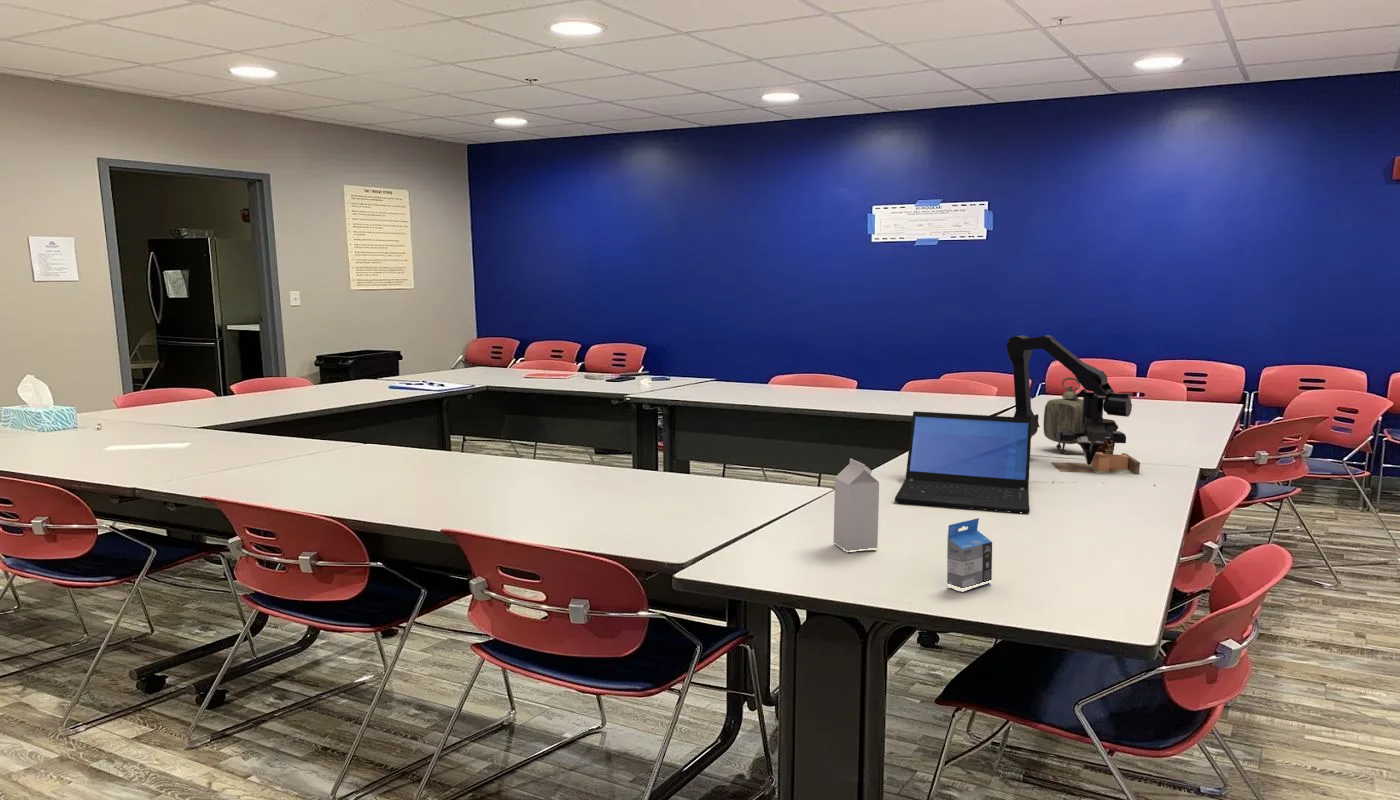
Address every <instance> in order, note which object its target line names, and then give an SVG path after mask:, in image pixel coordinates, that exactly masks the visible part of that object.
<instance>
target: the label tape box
mask: <svg viewBox="0 0 1400 800" xmlns="http://www.w3.org/2000/svg"><path fill="white" fill-rule="evenodd" d="M979 520H980V518H978V517H977V518H973V519H969V520H965V521H960V522H957V523H953V524H948V531H947V548H946V549H947V550H946V552H947V553H946V554H947V556H946V557H947V559H946V560H947V561H946V562H947V563H946V564H947V565H946V569H947V571H946V572H947V573H946V578H947V579H946V583H948V584H951V585H954V586H957V587H960V588H965V587H969V586H973V585H976V584H980V583H982V582H986V581H989V580H992V578H993V577H992V576H993V572H992V571H993V542H992V540H990V539H989V538H987V537H986V535H984V534H983V533H981V532H980V531H979V530H978V527H979ZM963 527H964V528H967V529H964V530H960V529H962V528H963ZM959 530H960V531H959ZM992 581H993V580H992Z"/></svg>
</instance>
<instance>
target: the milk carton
mask: <svg viewBox="0 0 1400 800" xmlns="http://www.w3.org/2000/svg"><path fill="white" fill-rule="evenodd" d="M872 473H873V471H872V470H871V469H870V467H868V466H866V464H864V463H862V462H860V461H857V460H855V459H853V458H849V464H848V465H846V466H845V467H844V468H843V469H842V470H841V471H840V472H838V474H837V475H836V476H835V477H834V505H833V507H834V508H833V509H834V511H833V513H834V514H833V515H834V516H833V544H834V543H836V544H837V545H839V546H840V547H842V548H844V549H845V550H847V551H850V550H859V549H868V548H877V549H878V541H879V540H878V539H879V538H878V535H879V510H880V509H879V505H880V504H879V502H880V482H879V481H878V480H877V479H876V478H875V477H874V476H873V475H871V474H872Z"/></svg>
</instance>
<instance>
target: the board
mask: <svg viewBox="0 0 1400 800" xmlns="http://www.w3.org/2000/svg"><path fill="white" fill-rule="evenodd" d="M1121 455H1126V456H1128V470H1112V469H1109V471H1098V470H1096V469H1095V468H1094V467H1093V466H1091V464H1090V465H1088V464H1087V462H1086V463H1085V462H1084V463H1083V462H1059V461H1058V462H1054V461H1053V462H1050V464H1051V465H1052V466H1054V468H1056V469H1057V470H1058V471H1059V472H1060V473H1082V474H1083V473H1085V474H1086V473H1087V474H1088V473H1090V474H1091V473H1093V474H1114V475H1115V474H1116V475H1117V474H1119V475H1140V468H1141V467H1140V466H1141V462H1140V461H1139V460H1137V459H1136V458H1134V457H1132V456H1131V455H1129V454H1128V453H1125V452H1122V453H1121Z"/></svg>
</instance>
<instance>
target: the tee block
mask: <svg viewBox="0 0 1400 800" xmlns="http://www.w3.org/2000/svg"><path fill="white" fill-rule="evenodd" d="M1091 466H1093V467H1094V468H1095V469H1096V470H1098V471H1109V469H1112V470H1128V456H1126V455H1122V454H1114V453H1113V454H1103V453H1102V452H1096V453H1095V455H1094V458H1093V460H1092V462H1091Z"/></svg>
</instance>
